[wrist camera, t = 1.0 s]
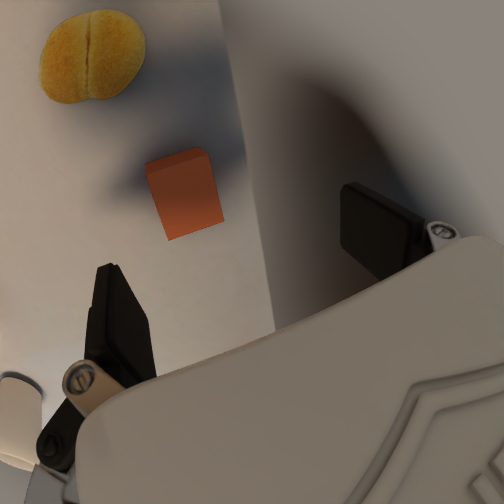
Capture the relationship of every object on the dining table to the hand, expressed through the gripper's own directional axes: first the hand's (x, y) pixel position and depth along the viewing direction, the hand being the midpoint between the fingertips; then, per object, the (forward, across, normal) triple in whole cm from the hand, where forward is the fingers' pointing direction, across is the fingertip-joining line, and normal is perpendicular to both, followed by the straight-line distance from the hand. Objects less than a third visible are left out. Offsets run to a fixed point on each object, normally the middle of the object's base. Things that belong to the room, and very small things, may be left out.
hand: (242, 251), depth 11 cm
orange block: (+16, +1, +2) cm, 16 cm away
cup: (+16, +37, +21) cm, 46 cm away
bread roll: (+16, +6, -12) cm, 21 cm away
